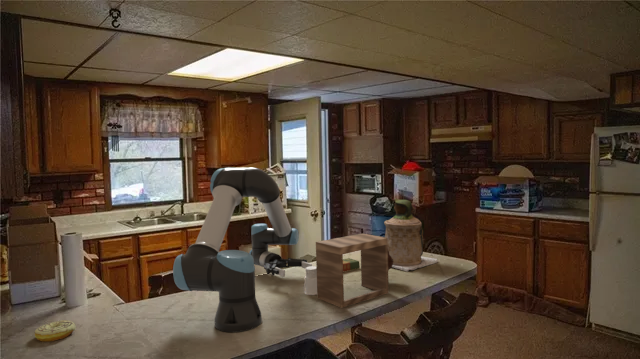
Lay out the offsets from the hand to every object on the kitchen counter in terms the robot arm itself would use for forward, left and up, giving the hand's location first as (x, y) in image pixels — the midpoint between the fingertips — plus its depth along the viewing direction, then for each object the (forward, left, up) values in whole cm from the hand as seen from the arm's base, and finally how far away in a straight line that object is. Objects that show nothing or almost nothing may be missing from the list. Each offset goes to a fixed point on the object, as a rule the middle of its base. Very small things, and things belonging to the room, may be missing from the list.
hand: (298, 270), depth 179 cm
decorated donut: (-85, +11, -7) cm, 86 cm away
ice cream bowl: (+29, -19, -7) cm, 35 cm away
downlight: (0, -10, -7) cm, 12 cm away
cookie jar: (+60, -4, -7) cm, 61 cm away
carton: (+30, +8, -7) cm, 32 cm away
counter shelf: (+9, -24, -7) cm, 26 cm away
